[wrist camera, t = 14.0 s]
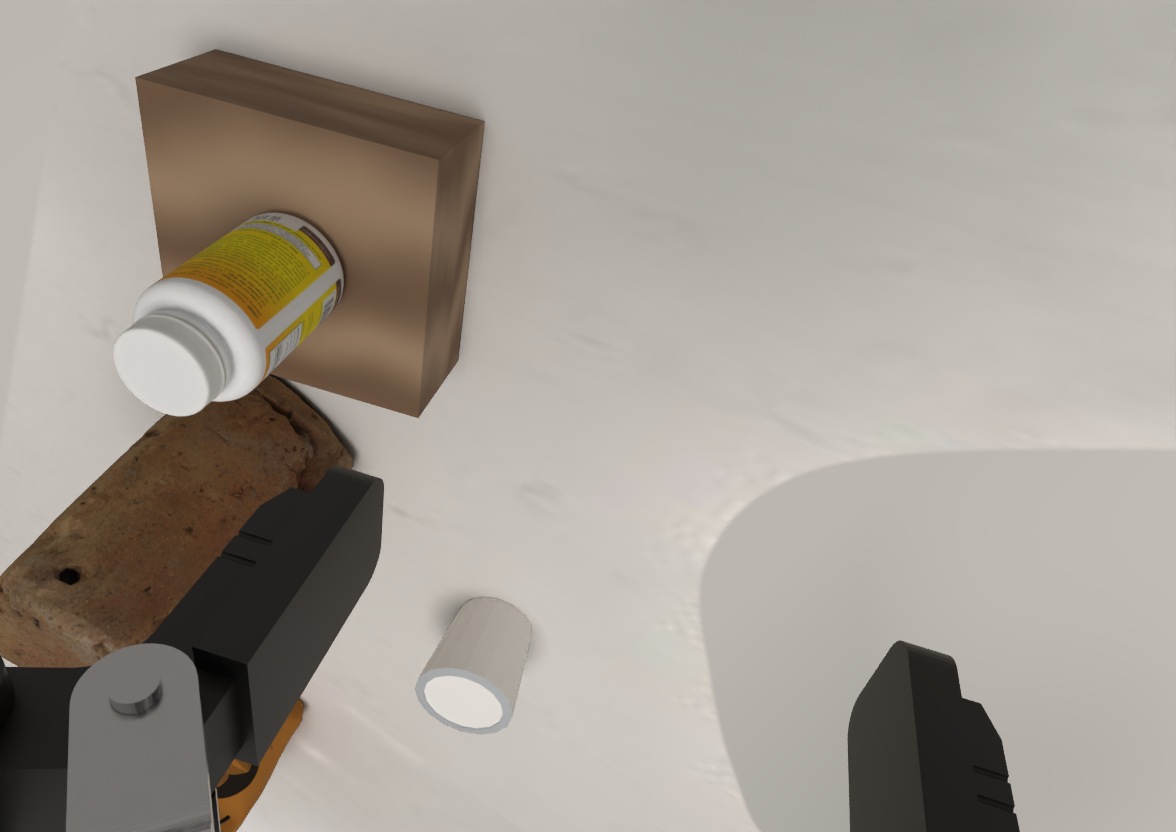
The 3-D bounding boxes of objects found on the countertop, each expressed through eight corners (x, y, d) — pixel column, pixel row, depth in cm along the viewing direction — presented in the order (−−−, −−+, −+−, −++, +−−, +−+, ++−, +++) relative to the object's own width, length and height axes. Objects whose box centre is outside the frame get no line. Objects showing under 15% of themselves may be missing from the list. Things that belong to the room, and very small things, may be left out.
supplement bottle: (227, 203, 39) (69, 302, 30) (337, 212, 38) (203, 316, 29) (256, 311, 42) (120, 425, 34) (358, 321, 41) (243, 442, 33)
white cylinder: (524, 589, 58) (493, 669, 53) (551, 656, 62) (524, 737, 56) (438, 591, 60) (399, 668, 55) (468, 655, 64) (435, 734, 58)
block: (195, 402, 55) (-61, 633, 39) (244, 338, 51) (-19, 567, 35) (325, 504, 58) (136, 758, 42) (381, 451, 54) (196, 710, 38)
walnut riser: (215, 49, 41) (135, 77, 36) (484, 121, 40) (438, 159, 35) (235, 295, 49) (172, 344, 44) (458, 360, 48) (418, 417, 43)
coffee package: (328, 710, 73) (172, 988, 55) (267, 754, 80) (111, 1014, 62) (233, 646, 70) (39, 915, 53) (179, 697, 77) (-9, 949, 60)
